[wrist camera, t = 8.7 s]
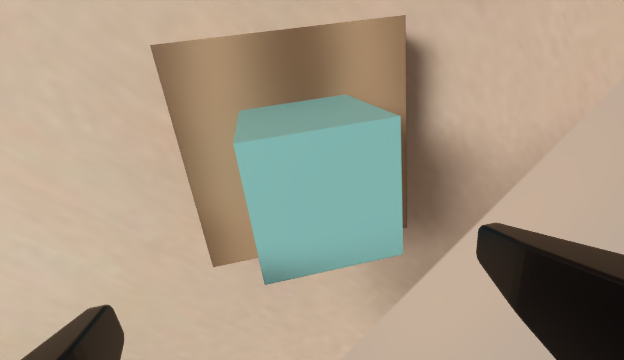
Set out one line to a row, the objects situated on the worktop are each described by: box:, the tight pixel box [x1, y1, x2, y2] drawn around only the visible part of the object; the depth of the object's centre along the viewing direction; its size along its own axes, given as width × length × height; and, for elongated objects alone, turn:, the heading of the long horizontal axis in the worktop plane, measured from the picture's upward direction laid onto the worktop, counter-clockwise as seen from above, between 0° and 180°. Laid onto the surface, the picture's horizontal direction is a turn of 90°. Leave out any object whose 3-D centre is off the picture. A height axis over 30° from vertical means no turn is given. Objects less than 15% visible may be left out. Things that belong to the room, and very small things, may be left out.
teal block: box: [233, 94, 403, 285], centre depth 13 cm, size 5×5×6 cm
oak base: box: [150, 15, 407, 267], centre depth 17 cm, size 11×11×3 cm
